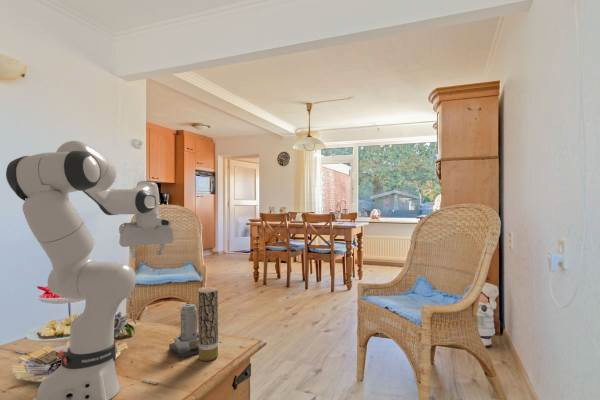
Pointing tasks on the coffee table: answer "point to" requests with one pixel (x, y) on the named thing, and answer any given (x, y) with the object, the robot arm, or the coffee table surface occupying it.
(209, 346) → the bark patterned cylinder
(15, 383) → the coffee table surface
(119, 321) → the passion flower
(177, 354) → the can mount
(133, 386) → the coffee table surface
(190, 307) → the energy drink can
